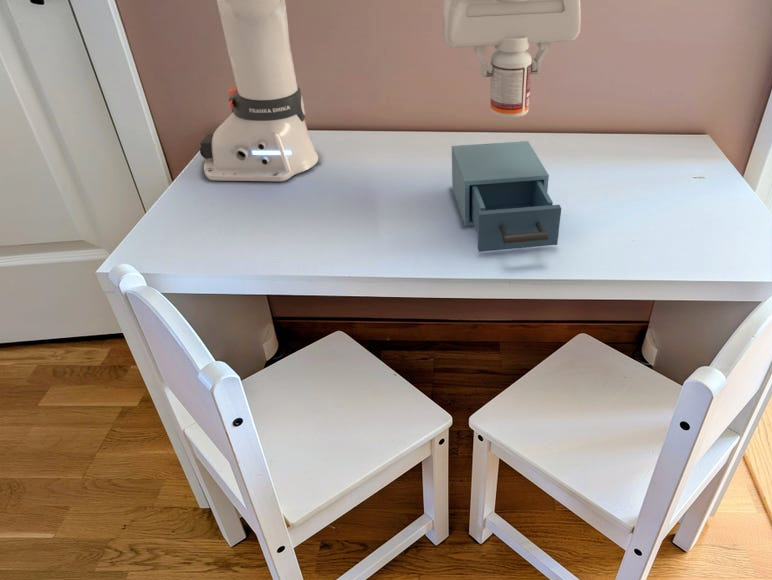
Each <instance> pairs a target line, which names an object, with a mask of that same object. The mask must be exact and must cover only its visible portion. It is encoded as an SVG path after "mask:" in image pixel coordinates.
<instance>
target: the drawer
mask: <svg viewBox="0 0 772 580" xmlns="http://www.w3.org/2000/svg"><path fill="white" fill-rule="evenodd" d="M553 202H554V201H553V200H552V198H551V196H550V195H549V194H548V190H547V191H546V190H545V188H544V186H543V184H542V183H541V181H540V180H533V181H519V182H506V183H493V184H479V185H469V212H470V215H471V218H472V221H473V223H474V226H473V227H474V229H475V232H476V234H477V251H478V253H482V252H493V251H504V250H515V249H526V248H527V249H528V248H538V247H547V246H549V247H550V246H557V245H558V241H559V235H560V234H559V232H560V224H561V215H562V207H561V205H560V204H554V203H553Z"/></svg>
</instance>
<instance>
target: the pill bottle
mask: <svg viewBox="0 0 772 580" xmlns="http://www.w3.org/2000/svg"><path fill="white" fill-rule="evenodd" d="M529 48H530V43H528V41H527V37H524V38H504V39H503V40H502V44H501V45H494V49H495V51H494V52H493V53H492V55H491V57H490V62H491V64H492V65H493V70H492V73H493V76H492V77H490V111H491V113H492V114H493V115H496V116H497V117H500V118H504V119H515V118H521V117H523V116H525V115H527V114H528V112H529V110H530V96H531V81H532V80H531V79H532V78H531V77H532V74H531V64H532V62H531V61H532V59H533V58H532V55H531V53H530V52H529V51H528V50H529Z"/></svg>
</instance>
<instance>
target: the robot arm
mask: <svg viewBox="0 0 772 580" xmlns="http://www.w3.org/2000/svg"><path fill="white" fill-rule="evenodd" d="M443 2H444V3H443V14H442V35H443V39H444V41H445V42H446V44H447V45H448V46H449V47H450V48H451V49H456V48H472V47H473V51H474V53H475V55H476V57H477V59H478V60H479V62H480V74H481V76H482V78H491V77H492V76H493V73H492V70H493V65H492V64H491V61H486V59H485V57H484V55H485V54H486V52H487V51H486V50H487V47H488V46H491V47H492V46H495V45H501V44H502V40H503V39H504V38H524V37H527V41H528V43H529V44H536V46H537V47H538V51H537V52H536V54H535V56H534V58H531V59H532V61H531V62H532V64H531V75H538V74H541V69H542V62H543V61H544V59H545V58H546V56H548V55H547V54H548V53H549V51H550V45H551V43H555V42H556V43H557V42H571V41H575V40H576V39H577V38H578V36H579V35H580V33H581V23H582V22H581V21H582V13H581V12H582V9H581V7H582V6H581V0H444V1H443ZM216 4H217V8H218V13H219V17H220V21H221V26H222V30H223V34H224V39H225V44H226V49H227V52H228V56H229V61H230V65H231V69H232V73H233V77H234V81H235V86H236V87H231V88H230V89H229V91H228V103H229V108H230V110H231V112H232V113H231V114H230V115H229V116H227V118H226V119H225V120H223V122H222V123H221V124H220V125H219V126H218V127H217V128H216V129H215V131H214V133H207V134H206V135H205V137H204V138H203V139H202V140H201V142H200V148H199V152H200V155H201V157H203V159H205V160H204V164H203V170H204V175H205V177H206V178H207V179H208V180H209V181H221V182H222V181H224V182H225V181H226V182H229V181H231V182H284V181H287V180H289V179H291V178H292V177H293V176H296V175H298V174H300V173H303V172H306V171H307V170H309V169H311V168H313V167H315V165H316V164H317V163H318V161H319V155H318V153H317V150H316V148H315V146H314V144H313V141H312V140H311V139H312V138H311V137H310V133H309V131H308V127H307V123H306V120H305V118H306V110H305V109H306V108H305V104H304V98H303V94H302V92H301V88H300V86H298V82H297V77H296V70H295V65H294V60H293V53H292V48H291V43H290V31H289V22H288V21H289V20H288V13H287V6H286V5H287V4H286V0H216ZM483 54H484V55H483Z"/></svg>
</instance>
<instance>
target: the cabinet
mask: <svg viewBox="0 0 772 580" xmlns="http://www.w3.org/2000/svg"><path fill="white" fill-rule="evenodd" d="M549 178H550V174H549V173H548V171H547V170H546V168H545V166H544V165H543V163H542V161H541V160H540V158H539V156H538V155H537V153H536V152H535V149H534V148H533V146H532V145H531V143H530V142H529V140H524V141H523V140H522V141H508V142H507V141H505V142H493V143H479V144H476V143H475V144H461V145H452V146H451V182H452V183H451V185H452V192H453V195H454V199H455V201H456V204H457V206H458V210H459V213H460V217H461V219H462V222H463V224H464V227H467V228H468V227H475V226H474V223H473V221H472V218H471V215H470V212H469V185H479V184H493V183H506V182H519V181H533V180H540V181H541V183H542V184H543V186H544V188H545V190H546V191H547V192H548V191H549V190H548V189H549V180H550V179H549Z"/></svg>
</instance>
